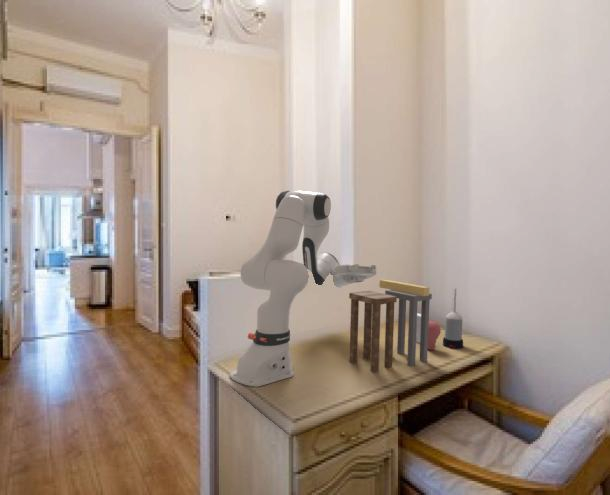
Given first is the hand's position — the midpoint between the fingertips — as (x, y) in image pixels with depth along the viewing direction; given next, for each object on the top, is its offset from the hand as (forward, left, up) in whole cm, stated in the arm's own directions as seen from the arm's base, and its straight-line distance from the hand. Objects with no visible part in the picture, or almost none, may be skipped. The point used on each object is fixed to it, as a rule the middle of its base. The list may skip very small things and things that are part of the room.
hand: (366, 266), depth 164 cm
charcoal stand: (-4, -21, -34) cm, 40 cm away
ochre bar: (-3, -18, -8) cm, 20 cm away
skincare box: (+22, -15, -34) cm, 43 cm away
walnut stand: (-18, -14, -34) cm, 41 cm away
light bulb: (+14, -24, -34) cm, 44 cm away
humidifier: (+26, -29, -34) cm, 51 cm away
